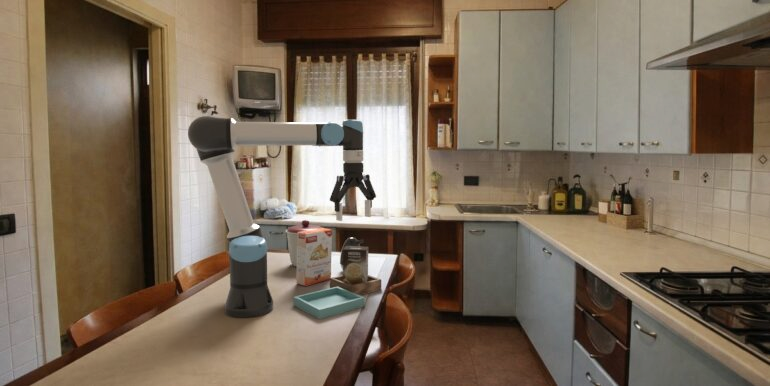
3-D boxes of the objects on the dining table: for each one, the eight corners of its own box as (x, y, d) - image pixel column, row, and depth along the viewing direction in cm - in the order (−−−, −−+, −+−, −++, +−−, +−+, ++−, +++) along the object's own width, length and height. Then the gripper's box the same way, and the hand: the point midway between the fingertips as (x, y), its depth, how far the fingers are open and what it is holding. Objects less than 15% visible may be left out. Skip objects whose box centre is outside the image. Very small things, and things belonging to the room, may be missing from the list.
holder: (351, 297, 154) (351, 286, 154) (329, 288, 165) (329, 278, 164) (381, 289, 163) (381, 279, 163) (358, 281, 174) (358, 271, 173)
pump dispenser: (360, 275, 183) (360, 240, 182) (336, 273, 185) (336, 238, 184) (366, 269, 193) (366, 235, 192) (343, 267, 195) (343, 234, 194)
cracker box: (305, 287, 166) (306, 233, 164) (295, 283, 170) (295, 231, 167) (332, 279, 177) (332, 229, 174) (322, 276, 180) (322, 227, 178)
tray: (319, 319, 134) (319, 309, 133) (293, 305, 145) (293, 296, 145) (364, 306, 145) (364, 297, 145) (337, 294, 157) (337, 286, 157)
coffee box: (341, 291, 161) (341, 249, 160) (345, 286, 168) (345, 245, 166) (366, 292, 160) (366, 249, 159) (368, 286, 167) (368, 246, 165)
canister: (282, 262, 203) (281, 218, 201) (319, 258, 211) (319, 216, 209) (290, 272, 187) (290, 224, 185) (330, 267, 194) (330, 221, 193)
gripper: (331, 162, 149) (332, 223, 151) (384, 161, 166) (385, 216, 167) (319, 162, 154) (320, 220, 156) (372, 161, 171) (372, 214, 173)
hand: (353, 218), depth 162 cm, fingers open, 13 cm apart
